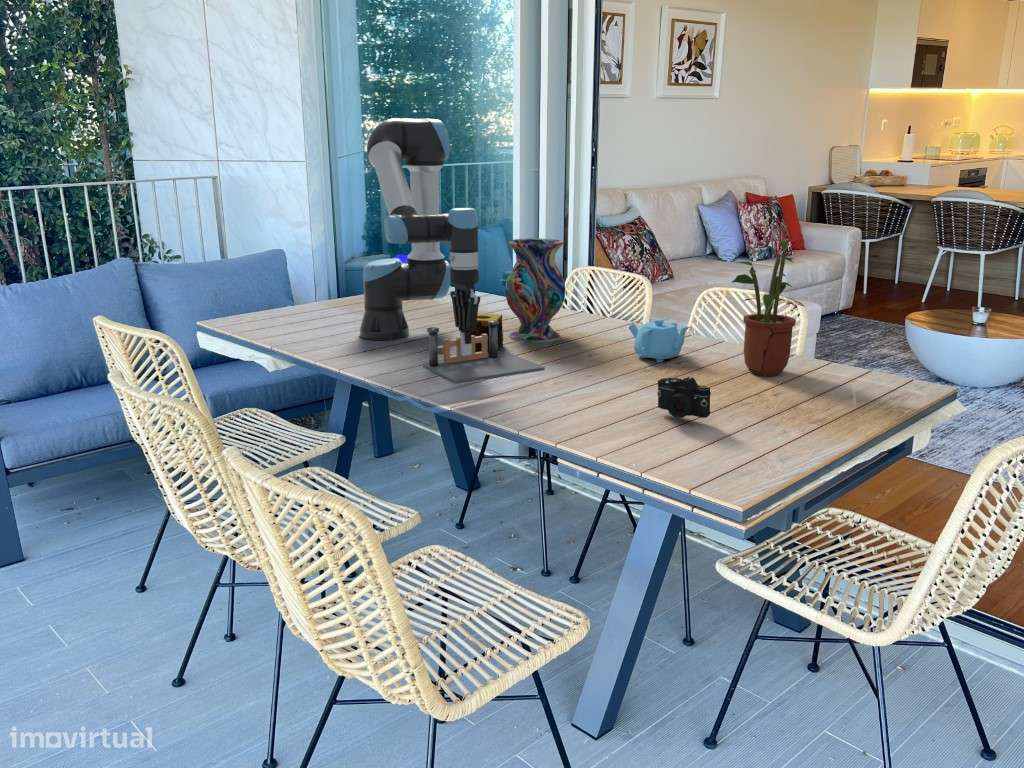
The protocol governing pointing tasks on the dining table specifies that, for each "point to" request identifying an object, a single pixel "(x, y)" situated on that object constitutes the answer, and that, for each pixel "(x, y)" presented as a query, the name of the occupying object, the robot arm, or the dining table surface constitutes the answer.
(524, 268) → the vase
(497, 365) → the mat
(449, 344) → the gate
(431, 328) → the latch post
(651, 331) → the teapot
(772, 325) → the potted plant
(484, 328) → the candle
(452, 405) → the dining table surface
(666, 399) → the film camera
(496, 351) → the glossy grey waisted cylinder
